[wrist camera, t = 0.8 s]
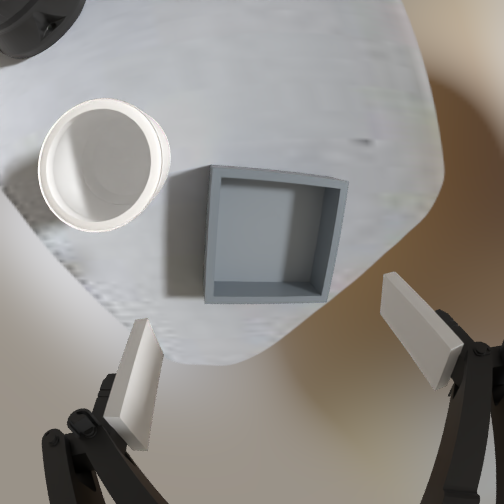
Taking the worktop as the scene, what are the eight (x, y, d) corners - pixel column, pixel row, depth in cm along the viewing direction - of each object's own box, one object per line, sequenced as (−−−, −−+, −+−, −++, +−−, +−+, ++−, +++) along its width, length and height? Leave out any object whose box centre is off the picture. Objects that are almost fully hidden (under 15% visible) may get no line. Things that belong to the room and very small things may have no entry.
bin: (210, 164, 35) (212, 167, 30) (331, 177, 38) (348, 181, 33) (203, 285, 40) (204, 303, 35) (313, 286, 43) (326, 302, 39)
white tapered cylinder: (104, 209, 34) (55, 247, 20) (87, 131, 30) (27, 125, 16) (183, 188, 35) (177, 215, 21) (168, 107, 31) (150, 79, 18)
